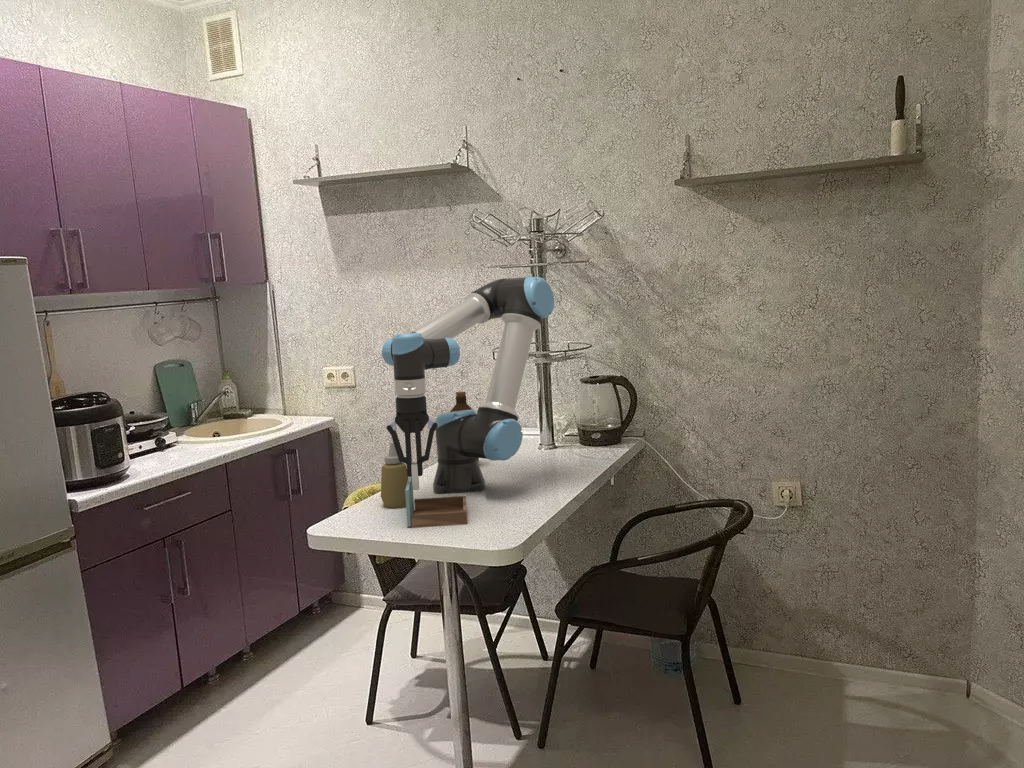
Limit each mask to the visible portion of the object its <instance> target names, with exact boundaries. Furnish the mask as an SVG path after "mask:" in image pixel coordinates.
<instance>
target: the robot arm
mask: <svg viewBox="0 0 1024 768" xmlns="http://www.w3.org/2000/svg"><path fill="white" fill-rule="evenodd" d="M554 307H555V295H554V291H553V290H552V286H551V285H550V283H549V282H548V281H547V280H546V279H545V278H543V277H541V276H539V277H538V276H526V277H511V278H510V277H509V278H506V277H505V278H499V279H496V280H493V281H491V282H489V283H487V284H484V285H482V286H481V287H478V288H477V289H475V290H473V291H472V292H470V293H469V294H467V295H466V296H465V298H464V300H463V301H462V302H460V303H458V304H456V305H455V306H453V307H451V308H450V309H448V310H446V311H445V312H443V313H441V314H439V315H438V316H436V317H434V318H433V319H431V320H429V321H428V322H426V323H425V324H423V325H421V326H419V327H417V328H415V329H414V330H413V331H411V332H406V333H405V332H404V333H397V334H394V335H393V337H392V338H389V339H387V340H385V342H384V343H383V345H382V348H381V356H382V359H383V361H384V362H385V363H386V364H387V365H388V366H391V367H393V373H394V374H393V376H394V380H393V381H394V395H396V396H397V397H395V412H396V415H395V417H394V420H393V421H392V422H390V423H388V424H387V426H386V427H385V428H386V430H387V432H388V433H389V434H390V435H391V439H392V443H394V446H395V449H396V452H397V455H398V459H399V461H400V462H402V463H404V464H405V465H406V467H407V475H408V478H409V477H412V486H413V491H419V489H420V481H419V480H420V479H419V478H420V477H422V476H423V473H424V471H423V469H424V467H423V463H424V462H427V461H429V460H430V456H431V455H430V454H431V451H432V450H431V449H432V444H433V439H434V435H435V441H436V453H437V454H436V455H437V468H436V472H435V475H434V480H433V482H432V487H433V489H432V490H433V493H435V494H437V495H445V494H447V495H448V494H462V493H463V494H464V493H477V492H479V493H480V492H482V491H484V490H486V480H485V478H484V475H483V473H482V470H481V467H480V463H479V464H478V458H479V459H485V460H489V461H494V462H495V461H507V460H509V459H511V458H512V457H514V456H515V455H516V454H517V453H518V451H519V450H520V447H521V445H522V442H523V437H524V436H523V435H524V433H523V431H522V430H523V428H522V425H521V423H520V422H519V415H518V413H517V412H516V406H517V402H518V398H519V394H520V389H521V385H522V381H523V377H524V374H525V371H526V364H527V360H528V358H529V357H528V356H529V352H530V349H531V345H532V340H533V336H534V332H536V331H537V330H538V329H540V328H541V326H542V323H543V322H542V321H543V319H545V318H547V317H549V316H550V315H551V314H552V313H553V311H554ZM494 319H501V320H502V322H503V323H504V327H503V330H502V333H501V334H502V335H501V338H500V339H501V340H500V343H499V345H498V346H499V347H498V350H497V355H496V359H495V363H494V368H493V371H492V375H491V378H490V382H489V386H488V390H487V394H486V398H485V402H484V403H483V404H481V405H479V406H478V407H477V408H478V409H477V412H476V410H475V409H473V410H461V411H454V412H450V411H448V412H444V413H440V414H438V415H437V417H436V418H435V421H434V420H433V419H431V418H430V416H429V414H428V412H427V409H428V407H427V396H425V394H426V392H427V391H426V390H427V389H426V374H425V373H426V370H431V369H432V370H433V369H441V368H448V367H452V366H454V365H456V364H458V362H459V360H460V358H461V349H460V345H459V344H458V342H457V341H456V340H455V339H454V338H456V337H458V336H459V335H461V334H463V333H464V332H466V331H467V330H468V329H471V328H472V327H474V326H475V325H478V324H485V323H487V322H488V321H490V320H494ZM476 414H477V415H476ZM426 425H428V426H427V428H428V429H429V431H428V436H427V440H426V447H425V450H424V454H423V453H422V452H423V451H422V448H423V447H422V434H421V433H422V431H423V430H424V429H425V427H426ZM397 426H398V427H399V429H400V430H401V431H402V432H403V434H404V440H405V441H404V442H405V443H404V444H405V455H404V451H403V449H402V446H401V443H400V438H399V436H398V433H397V429H398V427H397ZM434 433H435V434H434ZM411 434H414V435H415V436H414V437H415V449H416V450H415V452H416V453H415V454H416V462H415V461H414V462H413V459H412V440H411V439H412V438H411Z"/></svg>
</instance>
